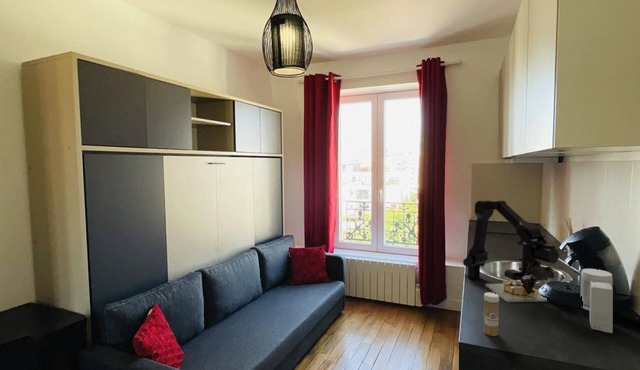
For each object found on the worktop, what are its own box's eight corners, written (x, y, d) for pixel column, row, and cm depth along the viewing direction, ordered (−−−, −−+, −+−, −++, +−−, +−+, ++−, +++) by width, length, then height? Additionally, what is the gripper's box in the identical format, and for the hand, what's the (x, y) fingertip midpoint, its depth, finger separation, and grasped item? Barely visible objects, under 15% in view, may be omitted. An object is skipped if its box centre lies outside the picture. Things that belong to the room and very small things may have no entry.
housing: (485, 286, 158) (485, 276, 158) (523, 285, 158) (524, 276, 158) (507, 302, 140) (507, 291, 140) (550, 301, 140) (551, 290, 140)
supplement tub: (583, 302, 139) (585, 266, 138) (614, 309, 132) (615, 272, 131) (576, 308, 133) (578, 271, 132) (608, 316, 126) (609, 277, 125)
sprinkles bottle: (488, 337, 112) (489, 297, 111) (480, 330, 117) (481, 292, 116) (501, 336, 113) (502, 296, 112) (493, 329, 117) (494, 291, 116)
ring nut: (498, 288, 152) (498, 281, 151) (513, 284, 156) (513, 278, 155) (528, 299, 139) (528, 292, 139) (544, 295, 143) (544, 288, 143)
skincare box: (612, 334, 113) (614, 290, 112) (589, 329, 117) (591, 286, 116) (610, 324, 120) (611, 283, 119) (588, 319, 124) (590, 279, 123)
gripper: (523, 263, 131) (522, 303, 132) (566, 261, 134) (564, 300, 135) (503, 256, 142) (503, 292, 143) (543, 254, 145) (542, 290, 146)
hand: (528, 294), depth 141 cm, fingers closed
